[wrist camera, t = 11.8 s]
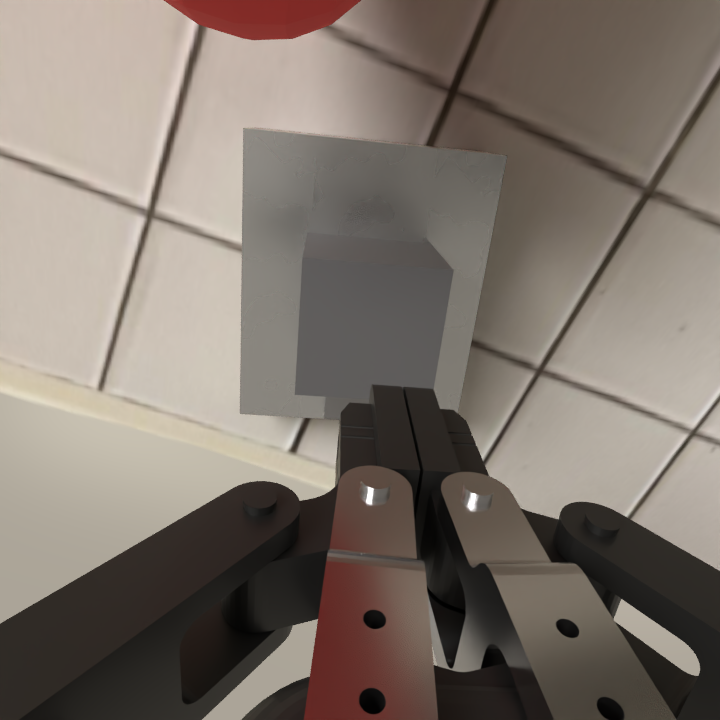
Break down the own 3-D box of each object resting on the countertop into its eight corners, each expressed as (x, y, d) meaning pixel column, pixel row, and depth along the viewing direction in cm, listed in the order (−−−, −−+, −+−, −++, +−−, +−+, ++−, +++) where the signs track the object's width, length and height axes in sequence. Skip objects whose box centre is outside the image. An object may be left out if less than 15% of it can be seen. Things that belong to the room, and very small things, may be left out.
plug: (419, 230, 25) (453, 270, 18) (405, 332, 27) (431, 403, 20) (309, 219, 24) (302, 257, 17) (303, 325, 26) (294, 395, 19)
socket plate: (485, 151, 24) (512, 156, 20) (442, 395, 28) (458, 434, 25) (254, 127, 23) (240, 128, 19) (249, 382, 28) (237, 421, 24)
